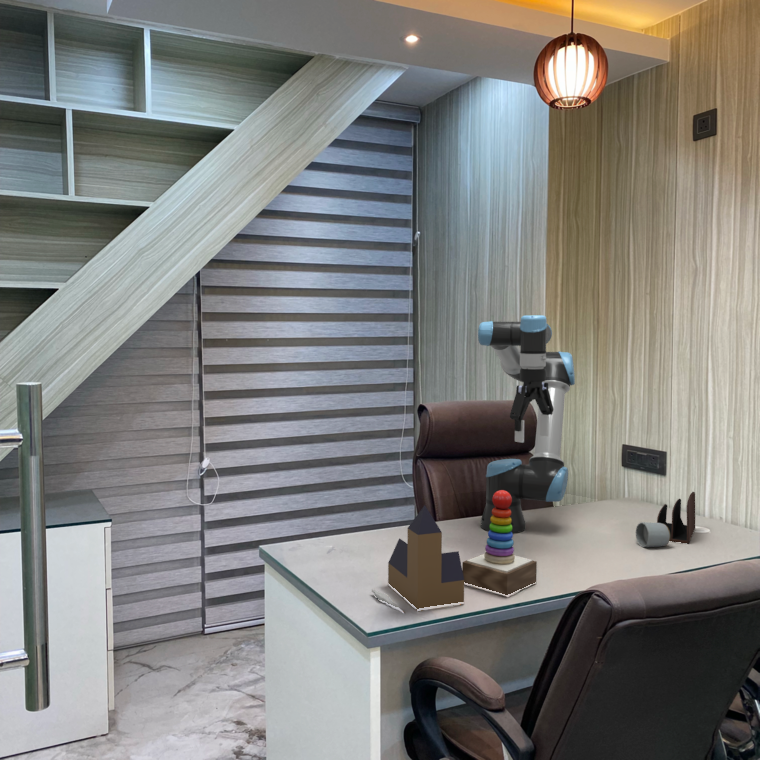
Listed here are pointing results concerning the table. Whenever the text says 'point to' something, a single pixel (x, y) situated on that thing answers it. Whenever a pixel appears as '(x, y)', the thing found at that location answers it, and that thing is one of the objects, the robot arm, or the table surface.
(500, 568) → the base block
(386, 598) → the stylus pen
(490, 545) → the stacking toy
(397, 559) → the toy building blocks
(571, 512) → the table surface
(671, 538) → the letter holder
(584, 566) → the table surface
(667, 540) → the ceramic mug
